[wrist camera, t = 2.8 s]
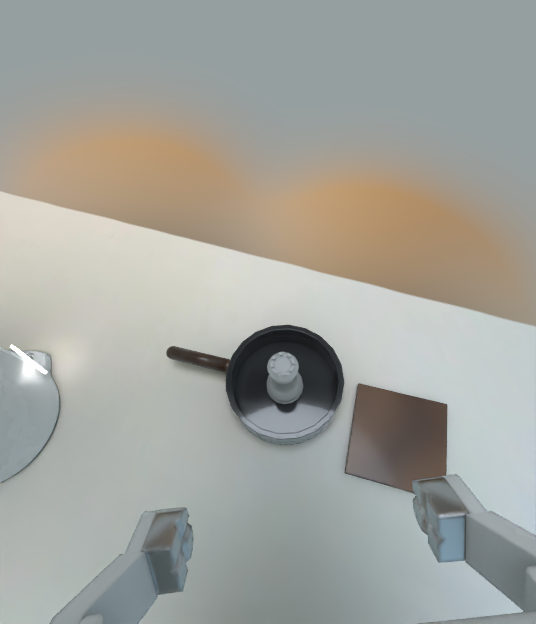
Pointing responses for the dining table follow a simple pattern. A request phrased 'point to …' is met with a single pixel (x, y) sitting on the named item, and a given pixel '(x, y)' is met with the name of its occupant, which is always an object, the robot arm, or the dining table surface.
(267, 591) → the dining table surface
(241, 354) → the pan
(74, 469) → the dining table surface
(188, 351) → the pan handle
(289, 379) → the rook chess piece
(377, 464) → the plate
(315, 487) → the dining table surface
